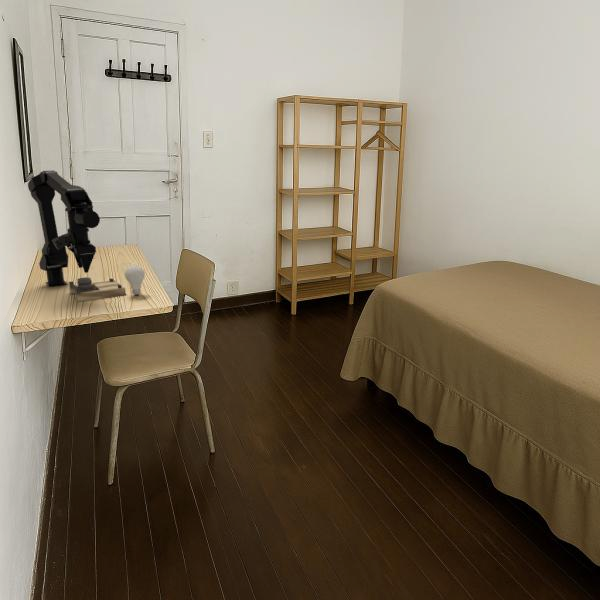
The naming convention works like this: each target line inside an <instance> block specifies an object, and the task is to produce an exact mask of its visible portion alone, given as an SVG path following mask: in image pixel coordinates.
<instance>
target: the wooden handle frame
mask: <svg viewBox="0 0 600 600" xmlns="http://www.w3.org/2000/svg"><path fill="white" fill-rule="evenodd" d="M68 283H69V293H70V294H71V295H75V297H76V301H77V302H79V303H80V302H84V301H85V302H86V301H94V300H99V299H107V298H112V296H114V297H119V296H126V295H127V292H126V287H125V286H123V285H122V284H120V282H118V281H116V280H115V279H114V278H109V280H107V281H98V282H92V283H91V284H92V290H93V291H89V292H82V293H81V292H80V288H78V284H74V281H68ZM106 297H107V298H106Z"/></svg>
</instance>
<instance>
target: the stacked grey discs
mask: <svg viewBox="0 0 600 600" xmlns="http://www.w3.org/2000/svg"><path fill="white" fill-rule="evenodd" d="M91 283H93V281H92V278H91V277H87V276H86V277H79V278H77V284H76V285H78V288H80V292H81V293H82V292H89V291H93V290H92V284H91Z"/></svg>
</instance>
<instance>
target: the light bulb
mask: <svg viewBox="0 0 600 600" xmlns="http://www.w3.org/2000/svg"><path fill="white" fill-rule="evenodd" d="M145 275H146V272H145V270H144V268H143V267H142V266H140V265H139V264H132V265H129V266H128V267H127V268H126V269H125V272H124V276H125V277H124V278H125V279H126V281H127V282H128V283H129V285H130V288H131V291H132V292H131V293H132V294H133V295H134V296H139V295H141V293H142V291H141V289H142V283H143V281H144V279H145Z"/></svg>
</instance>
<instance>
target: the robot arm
mask: <svg viewBox="0 0 600 600" xmlns="http://www.w3.org/2000/svg"><path fill="white" fill-rule="evenodd" d="M27 188H28V191H29V192H30V196H31V198H32V199H33V200H34V201H35V202H36V203H37V206H38V212H39V217H40V218H39V219H40V223H41V228H42V233H43V237H44V245H43V246H42V249H41V257H40V260H39V268H40V270H42V271H45V272H46V279H47V281H45V284H46V286H47V287H55V286H56V287H57V286H63V285H67V281H65V277H64V270H63V269H64V268H68V267H69V255H68V253H67V249H68V250H69V251H70V252H72V253H73V256H74V259H75V261H76V264H77V266H78V268H79V269H81V268H82V269H83V272H84V274H87V273H89V271H90V268H91V266H92V265H91V264H92V262H93V260H94V257H95V255H96V253H97V249H96V246H95V245H94V244H93V243H91V240H90V239H89V232H90V230H89V229H95V228H97V227H98V226H99V224H100V222H101V218H100V216H99V214H98V213H97V212H96V211H94V210H93V209H94V205H93V201H92V200H91V198H90V197H89V195H88V192H87V191H86V189H84V187H81V186H79V185H74V184H71V183H70V182H69V181H67V180H66V179H65V178H64V177H62V176H61V175H59V173H58V172H57V171H56V170H42V171H40V173H39V174H37V175H35V176H33V177H31V178H30V180H29V181H28V182H27ZM56 193H58V194H59V195H60V201H62V203H63V204H64V206H65V209H64V211H65V212H66V213H67V221H68V228H67V229H66V231H67V233H64V234H62V235H59V234H58V229H57V223H56V218H55V217H56V216H55V212H54V205H53V200H54V199H55V197H56ZM66 247H67V248H66Z"/></svg>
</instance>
